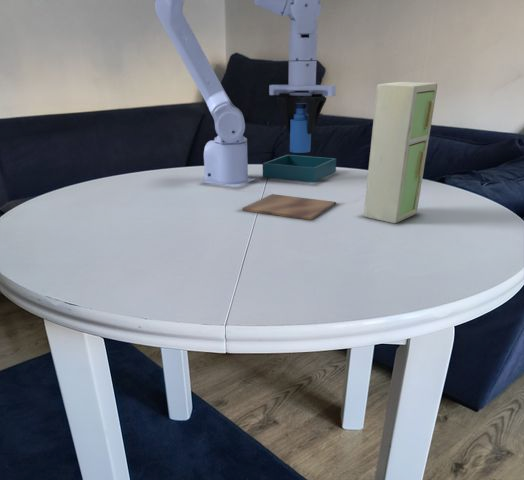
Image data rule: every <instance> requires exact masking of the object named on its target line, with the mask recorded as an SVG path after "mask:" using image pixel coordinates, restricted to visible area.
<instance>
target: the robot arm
mask: <svg viewBox="0 0 524 480" xmlns="http://www.w3.org/2000/svg"><path fill="white" fill-rule="evenodd" d="M252 2H253V4H254V5H256V6H258V7H260V8H263V9H264V10H267V11H269V12H271V13H274V14H276V15H279V16H281V17H283V18H284V17H286V16H288V18H289V20H290V21H289V22H290V24H289V25H290V28H289V29H290V30H289V35H288V80H287V81H288V83H287V84H269V86H268V87H269V88H268V89H269V90H268V93H269V94H268V95H269V96H278V97H276V103H277V104H278V107H279V109H280V112H281V114H282V117H283V121H284V125H285V130H286V133H287V134H290V119H294V114H295V110H296V103H297V96H305V97H306V103H307V114H308V134H311V135H313V134H315V133H316V128H317V123H318V120H319V117H320V114H321V112H322V110H323V108H324V107H325V104H326V102H327V97H331V98H332V97H336V93H337V85H330V84H326V85H325V84H317V63H318V61H317V59H318V38H319V37H318V26H319V25H318V18H319V16H320V14H321V12H322V4H321V0H252ZM184 4H185V0H154V7H155V8H154V9H155V13H156V16H157V18H158V19H159V21H160V23H161V25H162V27H163V28H164V30H165V32H166V34H167V36H168V37H169V39H170V41H171V43H172V45H173V46H174V49H175V50H176V52H177V53H178V55H179V57H180V59H181V61H182V62H183V64H184V66H185V68H186V70H187V71H188V73H189V75H190V76H191V78H192V80H193V82H194V83H195V85H196V87H197V89H198V91H199V92H200V94H201V96H202V98H203V99H204V102H205V104H206V106H207V108H208V111H209V112H210V114H211V116H212V118H213V121H214V130H215V132H216V135H217V136H215V137H214V139H213V140H209V141H207V142H206V143H205V146H204V150H203V165H204V166H203V167H204V180H203V183H210V184H217V185H227V186H233V187H239V186H242V185H244V184H247V183H249V182H252V181H254V180H256V178H253V177H249V163H248V162H249V160H248V157H249V156H248V138H247V137H245V136H244V133H245V130H246V122H245V117H244V114H243V112H242V110H241V109H239V108H238V107H236V105H234V104H233V102H232V101H231V99H230V97H229V96H228V94H227V93H226V91H225V88H224V87H223V85H222V83H221V82H220V79H219V78H218V76H217V75H216V72H215V70H214V68H213V67H212V65H211V63H210V61H209V60H208V57H207V55H206V54H205V52H204V50H203V48H202V46H201V45H200V42H199V41H198V38H197V37H196V35H195V33H194V32H193V29H192V27H191V26H190V24H189V22H188V20H187V18H186V16H185V15H184V13H183V10H184V9H183V8H184ZM296 91H308V92H296Z"/></svg>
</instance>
